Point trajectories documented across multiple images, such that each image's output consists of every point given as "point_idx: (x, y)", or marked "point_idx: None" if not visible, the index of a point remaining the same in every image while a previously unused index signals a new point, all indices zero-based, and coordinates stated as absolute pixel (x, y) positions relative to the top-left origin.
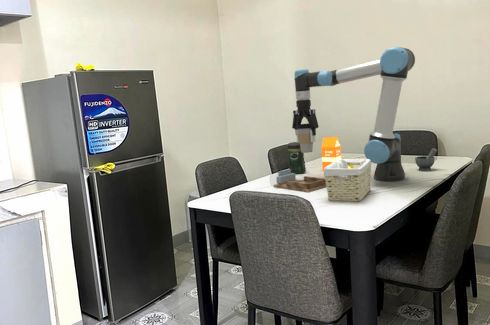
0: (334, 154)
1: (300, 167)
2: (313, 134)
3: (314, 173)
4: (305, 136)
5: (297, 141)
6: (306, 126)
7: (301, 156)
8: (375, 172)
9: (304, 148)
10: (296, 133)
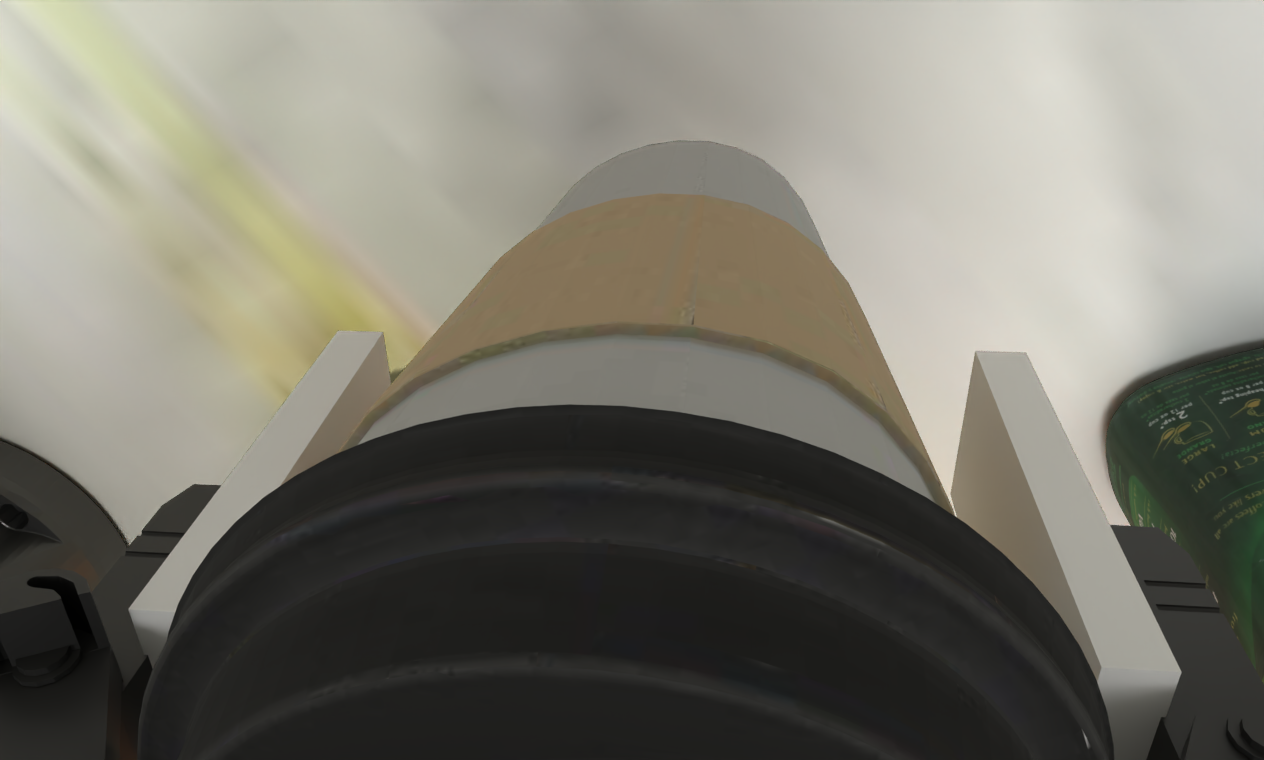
0: None
1: (1162, 443)
2: (186, 510)
3: (947, 488)
4: (445, 334)
5: (1000, 356)
6: (216, 678)
7: (1225, 603)
8: (33, 541)
9: (616, 177)
10: (1114, 545)
